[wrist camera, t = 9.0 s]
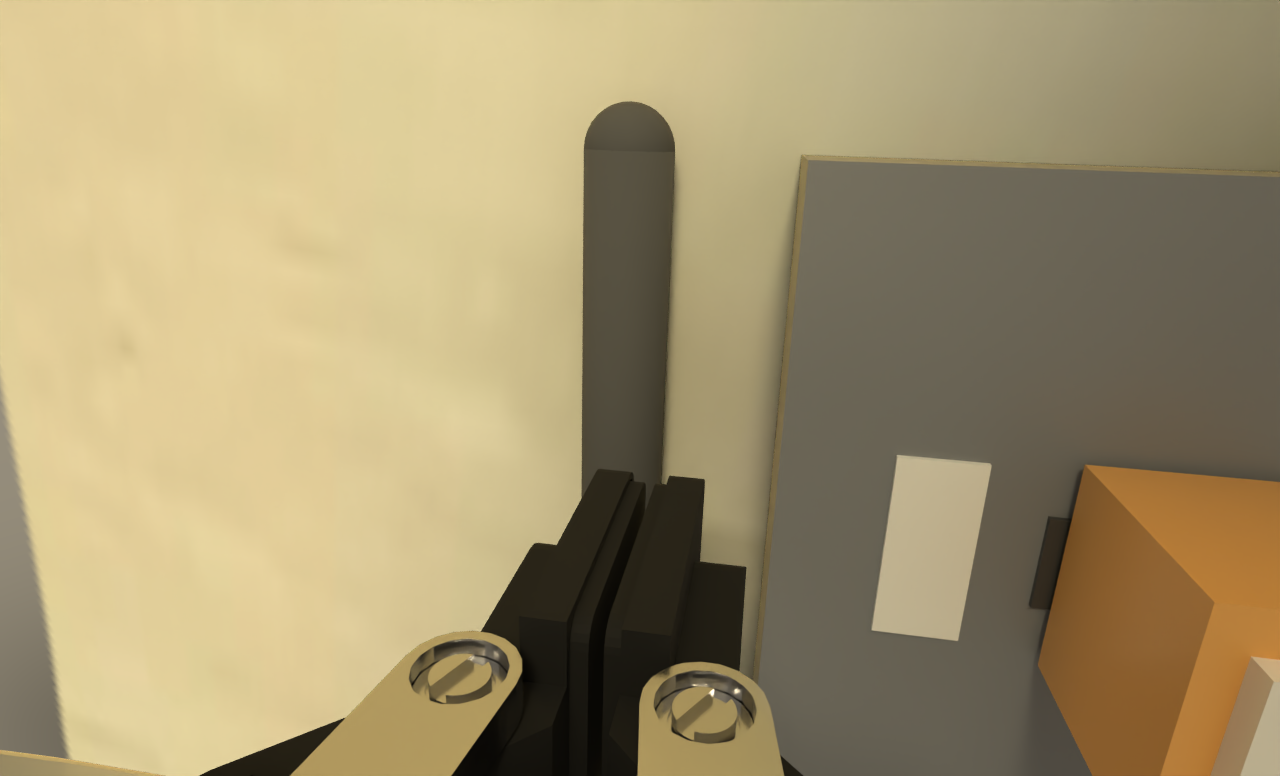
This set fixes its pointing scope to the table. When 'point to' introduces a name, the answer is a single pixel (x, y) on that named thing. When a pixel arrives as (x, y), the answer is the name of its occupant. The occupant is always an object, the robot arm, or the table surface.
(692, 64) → the table surface
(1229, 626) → the block
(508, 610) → the robot arm
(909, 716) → the slider switch box
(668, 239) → the dark grey rounded rod
